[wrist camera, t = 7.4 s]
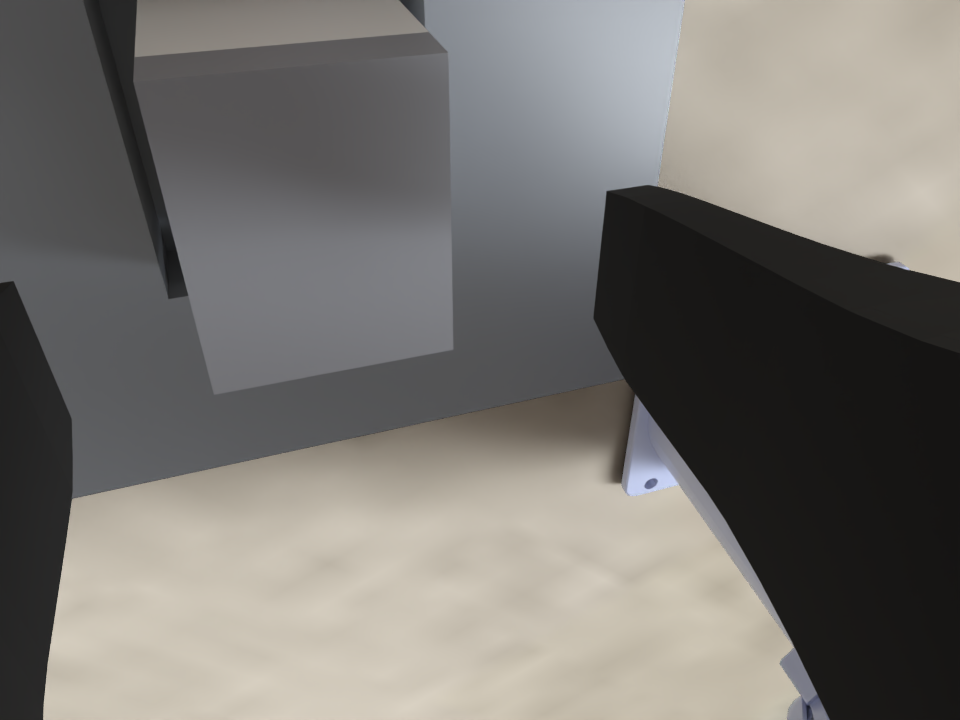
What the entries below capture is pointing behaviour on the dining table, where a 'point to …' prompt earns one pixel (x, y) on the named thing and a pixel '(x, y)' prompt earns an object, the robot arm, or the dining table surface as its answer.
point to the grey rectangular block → (302, 180)
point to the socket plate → (474, 228)
